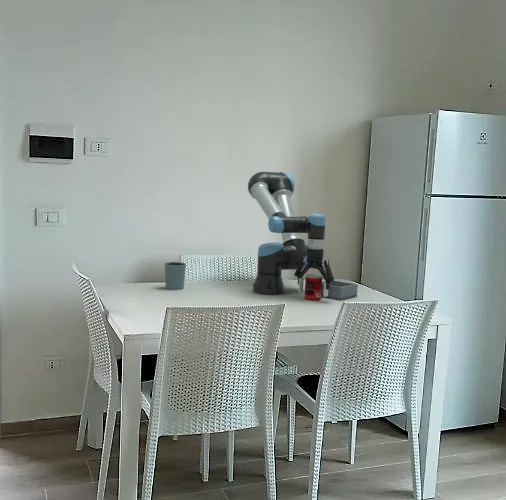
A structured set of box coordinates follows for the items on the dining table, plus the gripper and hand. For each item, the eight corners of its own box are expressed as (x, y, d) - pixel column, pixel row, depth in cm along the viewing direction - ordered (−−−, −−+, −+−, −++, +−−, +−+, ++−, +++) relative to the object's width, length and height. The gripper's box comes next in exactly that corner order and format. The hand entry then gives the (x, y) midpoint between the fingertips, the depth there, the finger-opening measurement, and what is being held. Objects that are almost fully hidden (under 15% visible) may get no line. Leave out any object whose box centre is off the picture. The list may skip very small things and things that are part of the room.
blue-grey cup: (182, 286, 336) (183, 261, 334) (187, 290, 326) (188, 265, 325) (162, 286, 332) (162, 261, 331) (166, 290, 323) (166, 265, 321)
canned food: (321, 298, 322) (322, 274, 320) (321, 301, 314) (322, 277, 312) (304, 296, 322) (305, 273, 321) (304, 300, 314) (305, 276, 313)
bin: (314, 295, 327) (314, 283, 326) (330, 291, 338) (331, 279, 337) (340, 300, 318) (341, 287, 317) (356, 296, 329) (357, 284, 328)
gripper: (288, 245, 320) (286, 291, 322) (334, 251, 304) (331, 299, 307) (297, 244, 326) (295, 289, 328) (343, 250, 310) (340, 297, 313)
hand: (313, 294), depth 318 cm, fingers open, 13 cm apart
